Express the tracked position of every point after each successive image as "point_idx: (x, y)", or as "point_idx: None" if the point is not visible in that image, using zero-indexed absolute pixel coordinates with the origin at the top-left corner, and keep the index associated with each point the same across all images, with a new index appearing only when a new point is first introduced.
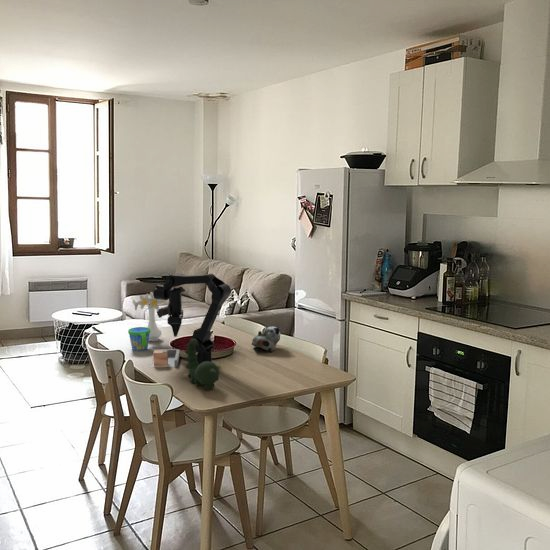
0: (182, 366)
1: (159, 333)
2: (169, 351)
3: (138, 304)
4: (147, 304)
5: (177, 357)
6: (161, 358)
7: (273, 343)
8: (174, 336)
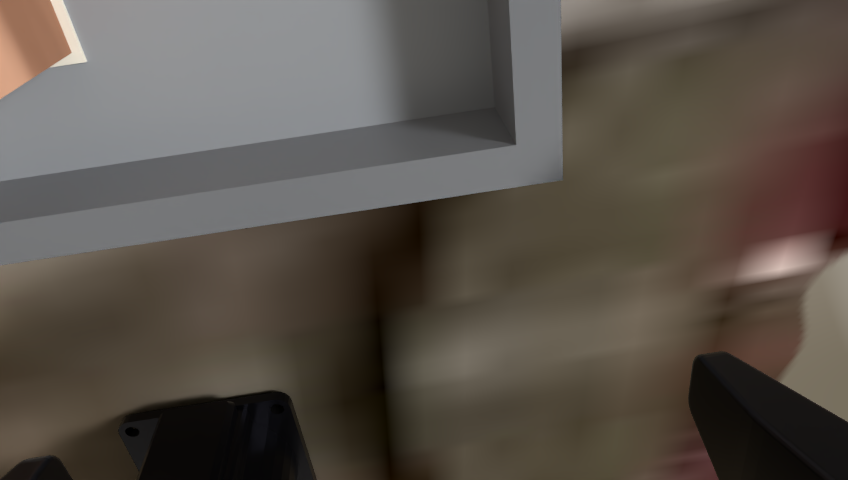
0: (39, 270)
1: None
2: (503, 3)
3: None
4: None
5: (44, 255)
6: None
7: None
8: (21, 466)
